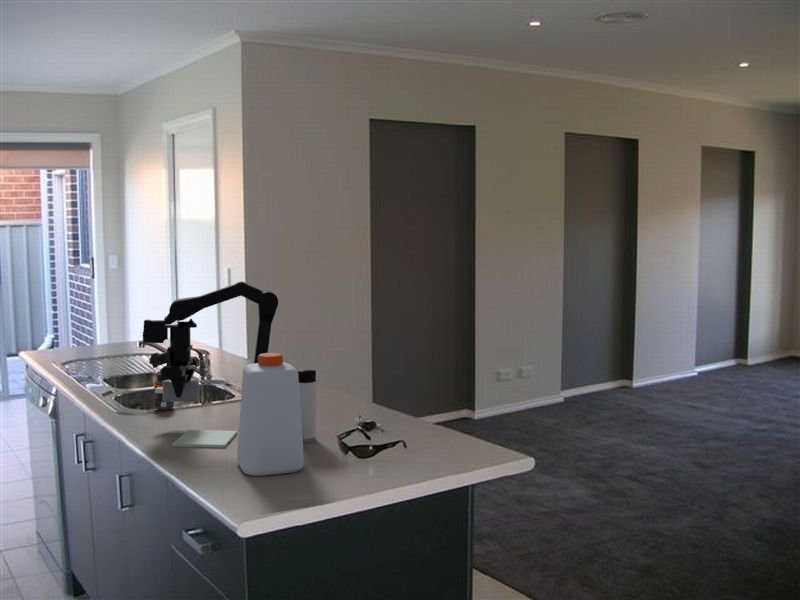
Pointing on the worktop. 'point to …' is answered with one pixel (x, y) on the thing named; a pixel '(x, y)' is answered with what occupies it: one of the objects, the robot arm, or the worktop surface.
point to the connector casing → (188, 393)
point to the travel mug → (308, 404)
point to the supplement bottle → (161, 395)
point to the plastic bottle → (270, 418)
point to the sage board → (205, 438)
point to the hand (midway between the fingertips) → (180, 395)
